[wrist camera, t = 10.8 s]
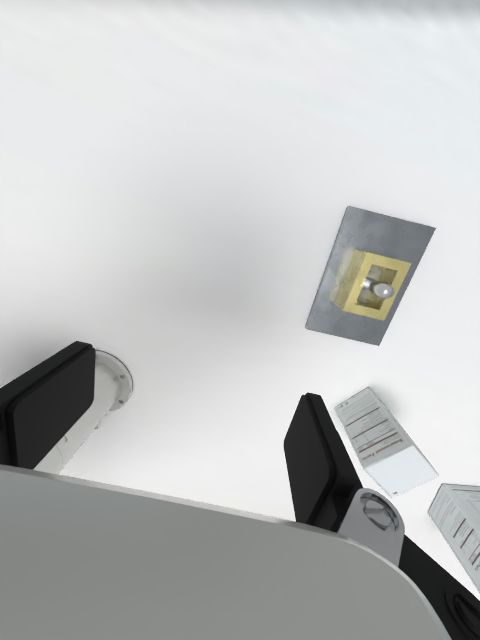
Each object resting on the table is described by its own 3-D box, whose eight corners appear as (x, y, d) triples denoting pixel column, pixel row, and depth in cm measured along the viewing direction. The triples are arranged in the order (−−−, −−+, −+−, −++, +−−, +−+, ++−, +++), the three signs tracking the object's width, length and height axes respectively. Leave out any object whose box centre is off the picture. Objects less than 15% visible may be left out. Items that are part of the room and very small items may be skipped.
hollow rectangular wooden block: (372, 312, 37) (384, 320, 33) (334, 303, 36) (342, 310, 33) (396, 260, 34) (411, 263, 31) (355, 249, 34) (366, 251, 30)
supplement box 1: (390, 411, 44) (441, 477, 32) (354, 431, 46) (390, 500, 34) (369, 384, 42) (414, 444, 30) (332, 406, 44) (362, 470, 32)
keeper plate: (375, 343, 39) (400, 365, 33) (305, 326, 39) (316, 346, 32) (430, 228, 33) (474, 227, 27) (347, 207, 33) (371, 201, 26)
